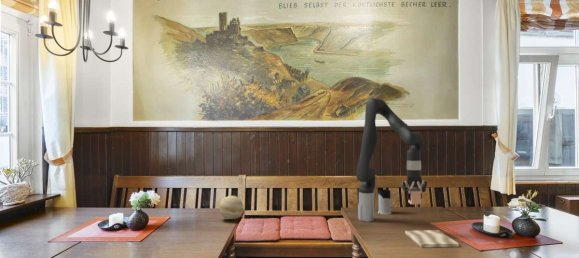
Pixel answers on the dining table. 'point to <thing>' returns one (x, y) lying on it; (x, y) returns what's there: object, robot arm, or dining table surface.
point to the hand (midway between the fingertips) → (414, 199)
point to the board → (431, 238)
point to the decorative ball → (231, 207)
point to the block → (415, 196)
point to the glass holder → (385, 201)
